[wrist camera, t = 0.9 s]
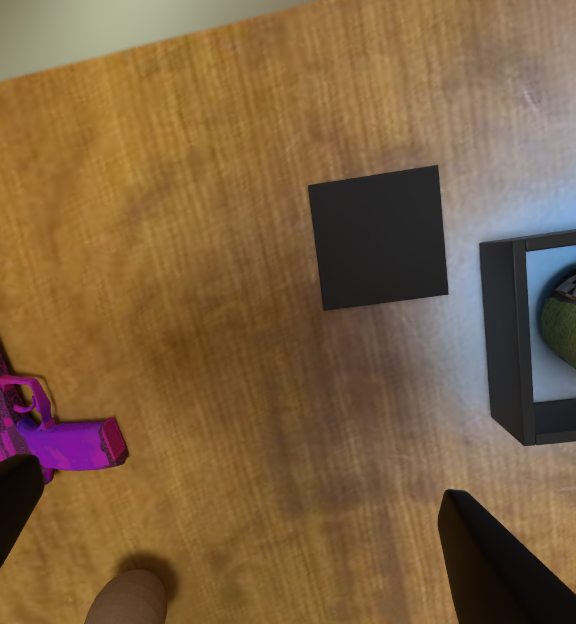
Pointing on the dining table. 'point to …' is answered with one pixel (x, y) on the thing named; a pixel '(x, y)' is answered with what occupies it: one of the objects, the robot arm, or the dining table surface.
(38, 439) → the handgun
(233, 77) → the dining table surface
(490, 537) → the robot arm
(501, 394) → the square frame
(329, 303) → the coaster
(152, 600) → the egg
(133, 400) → the dining table surface
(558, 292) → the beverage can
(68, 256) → the dining table surface
